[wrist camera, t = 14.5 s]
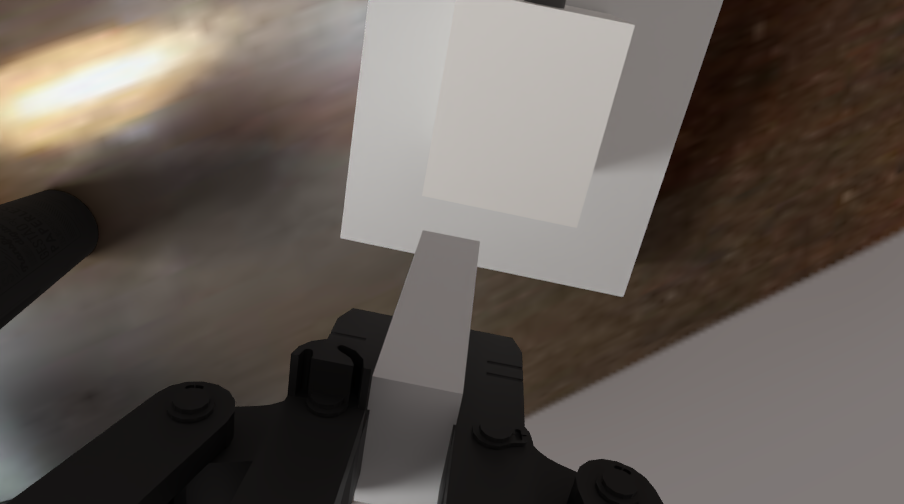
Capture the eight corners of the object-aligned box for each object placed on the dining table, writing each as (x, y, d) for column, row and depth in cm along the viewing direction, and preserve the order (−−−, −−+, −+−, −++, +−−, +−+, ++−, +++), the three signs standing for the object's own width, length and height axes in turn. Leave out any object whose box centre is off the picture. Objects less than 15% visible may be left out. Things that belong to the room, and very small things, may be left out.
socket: (613, 266, 39) (625, 304, 34) (357, 213, 39) (336, 243, 34) (732, -103, 30) (768, -116, 26) (406, -168, 31) (386, -191, 26)
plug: (560, 156, 36) (577, 228, 26) (449, 133, 36) (421, 195, 26) (614, -50, 32) (659, -61, 22) (487, -75, 32) (472, -99, 22)
